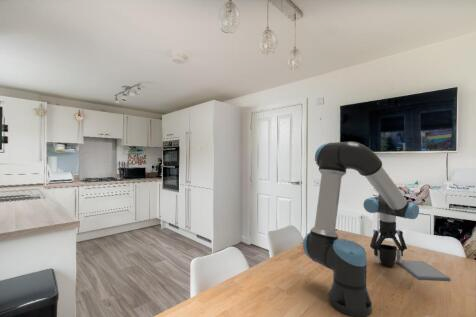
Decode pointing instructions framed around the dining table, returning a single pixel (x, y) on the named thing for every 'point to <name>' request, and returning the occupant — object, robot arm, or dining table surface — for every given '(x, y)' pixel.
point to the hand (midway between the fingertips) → (388, 261)
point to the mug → (387, 255)
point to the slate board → (422, 270)
